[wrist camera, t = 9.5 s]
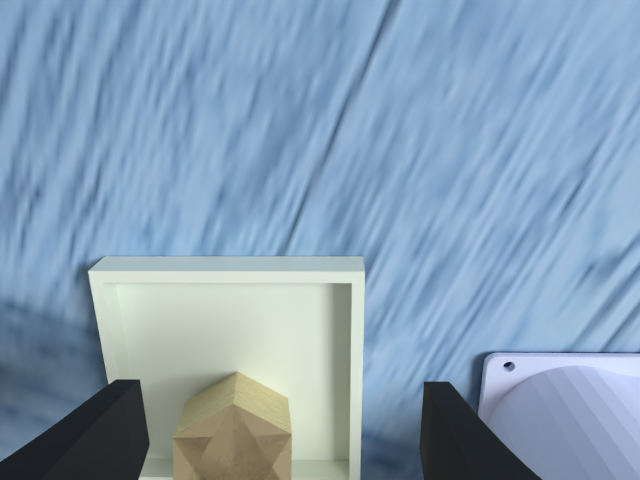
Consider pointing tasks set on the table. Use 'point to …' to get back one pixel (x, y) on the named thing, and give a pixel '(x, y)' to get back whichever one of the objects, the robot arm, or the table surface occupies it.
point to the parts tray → (240, 344)
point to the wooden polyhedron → (234, 433)
